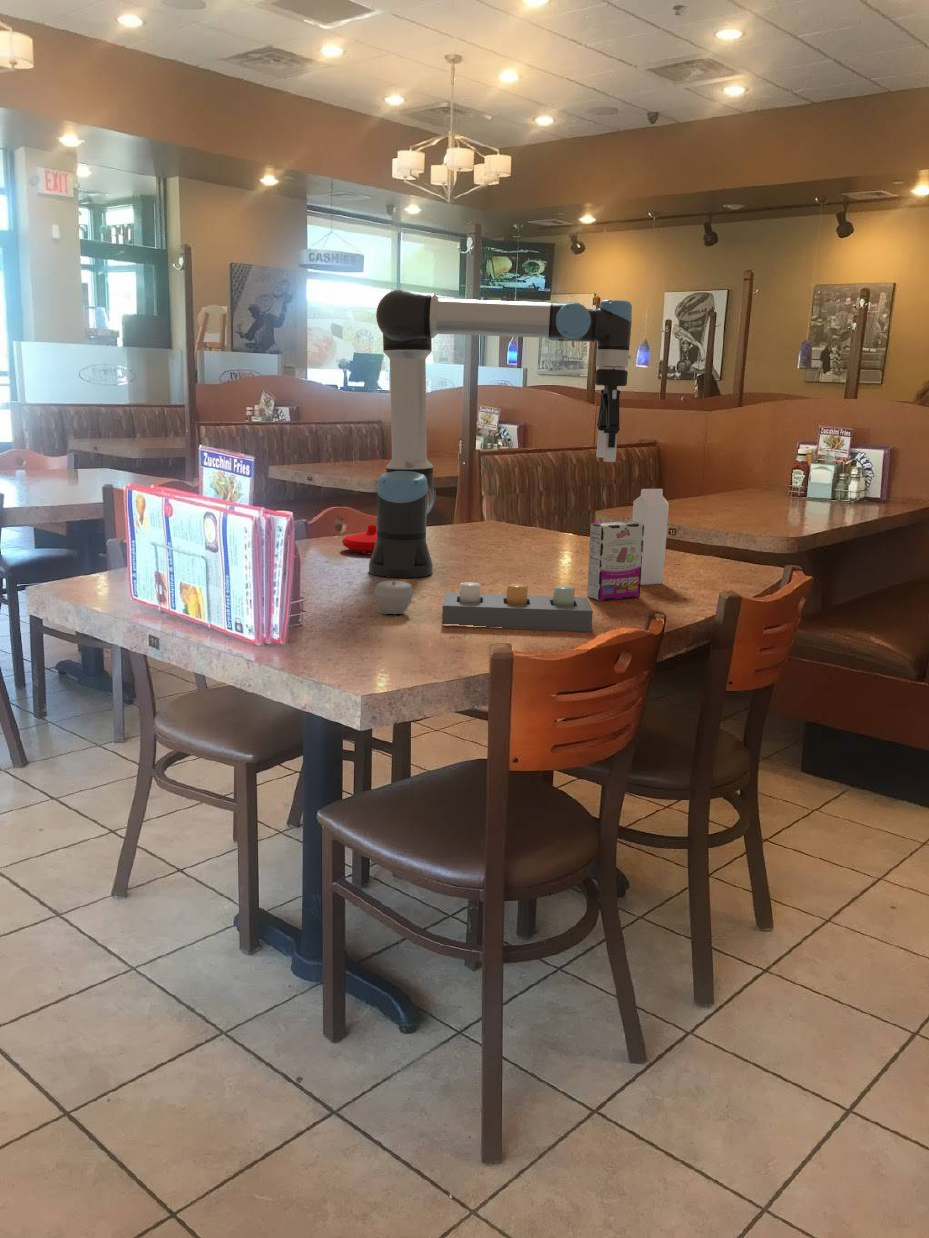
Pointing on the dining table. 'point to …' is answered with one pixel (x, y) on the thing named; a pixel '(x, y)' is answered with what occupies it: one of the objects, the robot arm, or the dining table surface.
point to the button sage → (563, 596)
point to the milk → (652, 533)
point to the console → (518, 613)
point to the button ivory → (470, 592)
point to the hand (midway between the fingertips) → (605, 459)
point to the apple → (393, 596)
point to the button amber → (516, 594)
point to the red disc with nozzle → (362, 540)
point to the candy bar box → (615, 560)
